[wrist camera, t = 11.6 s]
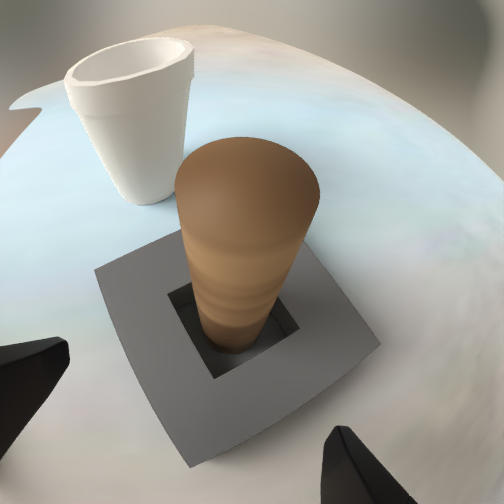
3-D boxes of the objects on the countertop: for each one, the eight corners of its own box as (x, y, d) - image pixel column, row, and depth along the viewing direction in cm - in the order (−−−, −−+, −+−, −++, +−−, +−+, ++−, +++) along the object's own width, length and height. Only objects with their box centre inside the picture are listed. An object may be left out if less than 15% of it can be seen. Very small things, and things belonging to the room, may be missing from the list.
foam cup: (212, 161, 28) (215, 40, 17) (170, 231, 23) (143, 88, 12) (136, 144, 29) (118, 38, 18) (87, 203, 24) (40, 87, 13)
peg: (264, 349, 19) (339, 234, 7) (206, 357, 18) (175, 250, 6) (254, 296, 21) (297, 136, 9) (199, 303, 20) (175, 141, 8)
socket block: (361, 353, 19) (380, 344, 17) (194, 459, 14) (189, 468, 12) (260, 217, 25) (265, 193, 22) (108, 287, 20) (94, 270, 17)
